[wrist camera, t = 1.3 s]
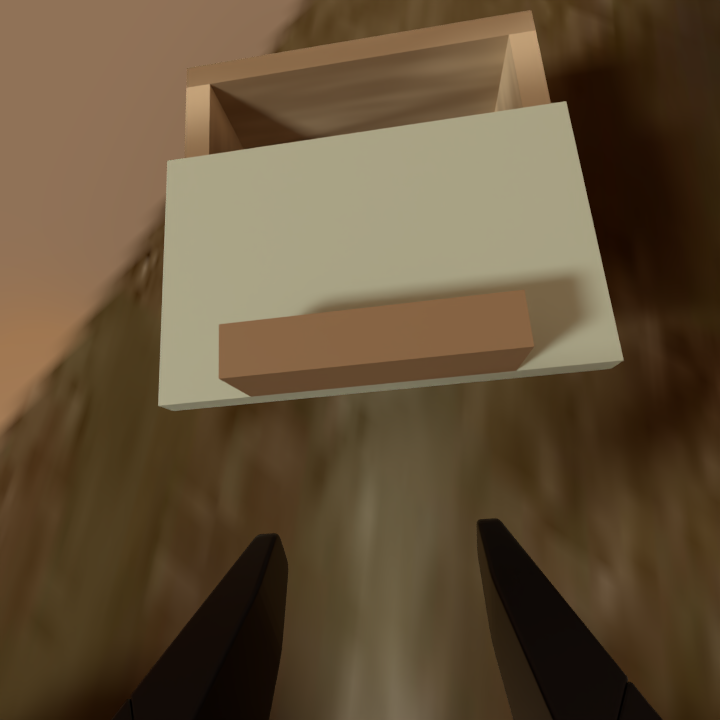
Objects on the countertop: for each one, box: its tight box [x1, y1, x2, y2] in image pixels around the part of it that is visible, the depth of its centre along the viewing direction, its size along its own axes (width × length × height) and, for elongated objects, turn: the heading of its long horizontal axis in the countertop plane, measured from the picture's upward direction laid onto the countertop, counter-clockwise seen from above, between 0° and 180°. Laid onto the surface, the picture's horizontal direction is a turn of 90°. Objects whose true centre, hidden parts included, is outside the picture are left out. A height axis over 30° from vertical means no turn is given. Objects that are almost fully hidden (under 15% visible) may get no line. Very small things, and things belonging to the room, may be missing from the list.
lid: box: [158, 101, 623, 411], centre depth 15 cm, size 9×14×4 cm, turn 94°
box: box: [185, 10, 551, 158], centre depth 23 cm, size 9×14×8 cm, turn 94°
